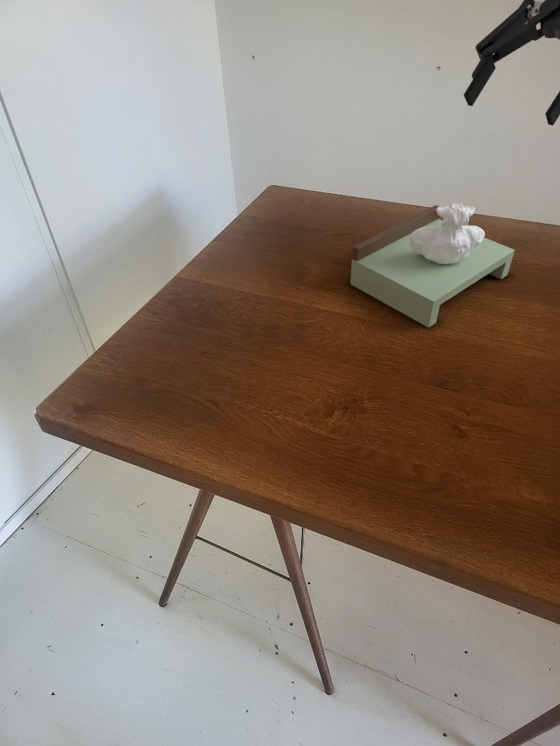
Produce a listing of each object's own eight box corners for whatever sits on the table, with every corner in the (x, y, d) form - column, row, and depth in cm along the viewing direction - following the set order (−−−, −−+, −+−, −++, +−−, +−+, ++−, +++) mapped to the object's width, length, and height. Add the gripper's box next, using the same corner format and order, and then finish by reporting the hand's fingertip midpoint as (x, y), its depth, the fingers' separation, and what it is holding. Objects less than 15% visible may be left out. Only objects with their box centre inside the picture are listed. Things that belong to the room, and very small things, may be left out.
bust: (405, 271, 88) (421, 245, 77) (403, 229, 89) (418, 197, 78) (477, 270, 88) (502, 243, 77) (474, 227, 89) (498, 195, 78)
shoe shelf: (507, 275, 91) (519, 236, 86) (428, 327, 81) (436, 288, 76) (429, 240, 101) (435, 204, 96) (350, 284, 91) (352, 246, 86)
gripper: (685, 0, 70) (590, 143, 74) (518, -13, 85) (445, 107, 88) (689, -46, 64) (585, 112, 68) (508, -52, 79) (430, 79, 82)
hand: (506, 109), depth 78 cm, fingers open, 13 cm apart
